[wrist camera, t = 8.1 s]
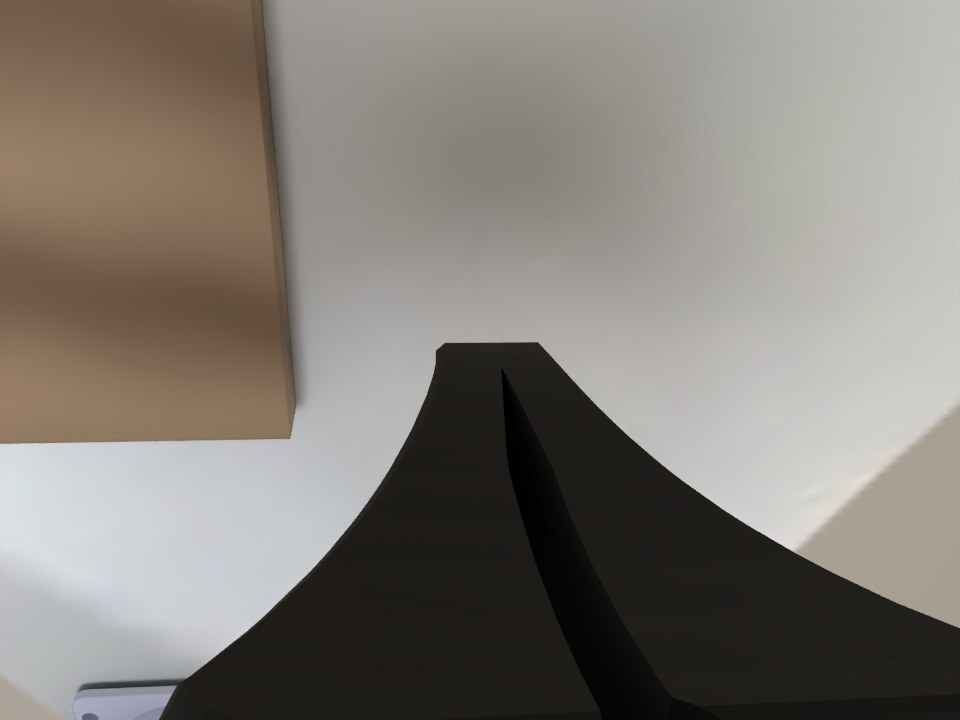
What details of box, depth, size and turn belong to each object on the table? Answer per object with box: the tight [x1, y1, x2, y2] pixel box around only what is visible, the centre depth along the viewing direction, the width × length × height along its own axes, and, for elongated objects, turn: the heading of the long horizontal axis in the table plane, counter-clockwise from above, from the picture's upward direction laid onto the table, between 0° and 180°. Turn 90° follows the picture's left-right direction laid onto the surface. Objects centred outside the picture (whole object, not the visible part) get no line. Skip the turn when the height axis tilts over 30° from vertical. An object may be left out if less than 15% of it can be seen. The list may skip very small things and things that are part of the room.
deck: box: [0, 0, 296, 444], centre depth 17 cm, size 20×10×2 cm, turn 178°
